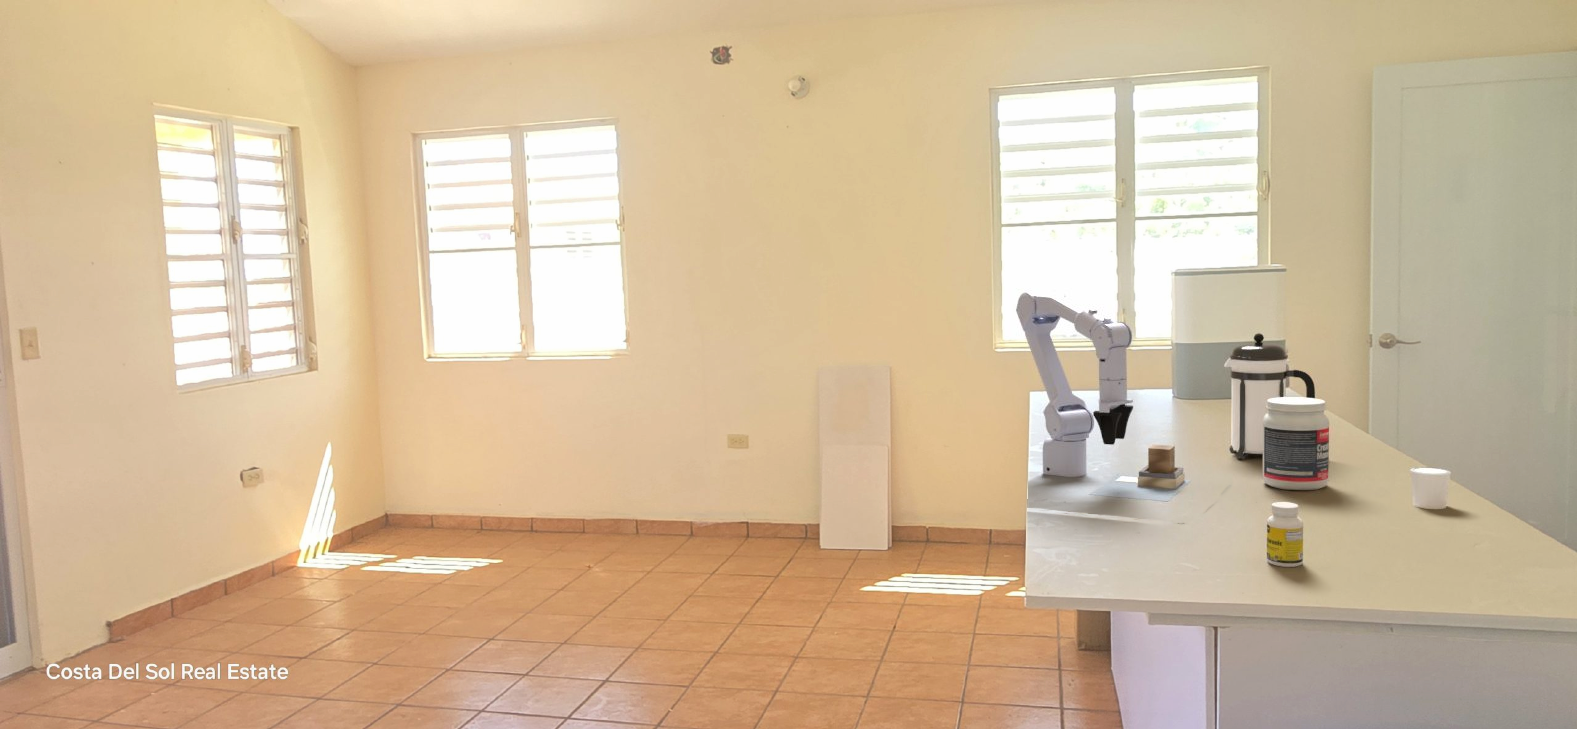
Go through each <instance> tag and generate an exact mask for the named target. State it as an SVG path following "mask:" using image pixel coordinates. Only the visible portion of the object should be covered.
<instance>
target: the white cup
mask: <svg viewBox="0 0 1577 729" xmlns="http://www.w3.org/2000/svg"><path fill="white" fill-rule="evenodd" d="M1409 473H1410V484H1411V486H1410V487H1411V496H1412V498H1411V499H1412V506H1414V507H1416V508H1421V509H1426V510H1427V509H1428V510H1441V509H1446V508H1447V504H1448V496H1449V490H1450V482H1451V476H1452V475H1451V474H1452V472H1451V471H1450V470H1448V469H1444V468H1437V467H1429V466H1427V467H1426V466H1423V467H1412V468H1410V471H1409Z"/></svg>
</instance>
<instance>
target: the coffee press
mask: <svg viewBox="0 0 1577 729" xmlns="http://www.w3.org/2000/svg"><path fill="white" fill-rule="evenodd" d="M1264 338H1265V337H1264V335H1263V334H1262V333H1260V332H1259V333H1255V334H1254V336H1253V340H1254V343H1253V342H1252V343H1244V344H1240V345H1237V346H1235V347H1234V348H1233V350H1232V352H1231V353H1230V355H1229V357H1228V359H1227V360H1226V361H1225V363H1224V365H1223V366H1224V368H1231V369H1230V379H1231V411H1230V412H1231V414H1230V415H1231V416H1230V417H1231V421H1230V422H1231V425H1230V426H1231V430H1230V432H1231V435H1230V436H1231V439H1230V440H1231V442H1230V443H1231V445H1230V446H1229V452H1230V453H1237V454H1236V455H1235V456H1236V459H1237V460H1240V461H1241V460H1242V461H1244V460H1245V459H1246V457H1247V456H1248V455H1253V454H1254V455H1255V454H1256V455H1263V419H1264V416H1265V415H1266V414H1267V413H1268V412H1269V410H1268V408H1266V406H1267V400H1268V399H1271V398H1279V397H1287V395H1286V392H1287V391H1286V388H1287V387H1286V385H1287V384H1286V383H1287V378H1288V377H1289V378H1290V377H1291V378H1299V379H1301V380H1302V381H1303V382H1304V384H1305V389H1306V390H1305V391H1306V393H1305V394H1306V397H1305V398H1314V399H1316V392H1315V391H1316V389H1315V383H1314V381H1313V379H1312V377H1311V375H1310V374H1308V373H1307V372H1305V371H1303V370H1300V369H1293V370H1288V369H1287V360H1288V359H1289V354H1287V352H1286V350H1285V348H1283V347H1282V346H1280V345H1279V344H1274V343H1263V341H1264Z"/></svg>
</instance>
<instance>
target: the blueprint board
mask: <svg viewBox="0 0 1577 729" xmlns="http://www.w3.org/2000/svg"><path fill="white" fill-rule="evenodd" d="M1185 477H1186V476H1185V471H1184V467H1180V466H1179V467H1177V466H1175V472H1174V473H1158V472H1148V464H1147V465H1146V466H1145V467H1143V468H1142V469H1141V470H1139V471H1138V474H1137V475H1134V474H1124V473H1121V474H1120V473H1117V474H1116V475H1114V476H1113V477H1112V478H1110V479H1109V480H1107V481H1105V482H1104V483H1103V484H1102V485H1100V486H1099V487H1097V488H1096V489H1095V490H1093V491H1092V492H1090V493H1089V494H1088V495H1090V496H1097V497H1098V496H1101V497H1111V498H1112V497H1113V498H1121V499H1133V500H1134V499H1135V500H1143V501H1146V500H1147V501H1157V502H1169V501H1171V500H1172V498H1173V497H1175V496H1176V495H1177V493H1179V492H1180V491H1181V490H1182V489H1183V488H1185V486H1187V485H1188V484H1189V483H1190V482H1191V481H1192V479H1190V478H1189V479H1188V478H1187V479H1185Z"/></svg>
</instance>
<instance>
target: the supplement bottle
mask: <svg viewBox="0 0 1577 729" xmlns="http://www.w3.org/2000/svg"><path fill="white" fill-rule="evenodd" d="M1271 514H1272V515H1271V516H1269V517H1268V518H1267V521H1266V560H1267V561H1266V562H1268V564H1270V565H1274V566H1276V567H1281V568H1294V567H1295V568H1296V567H1300V566H1302V565H1303V562H1304V522H1303V520H1302V519H1301V517H1299V516H1298V515H1299V505H1298V504H1297V503H1293V502H1288V501H1277V502H1273V503H1271Z"/></svg>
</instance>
